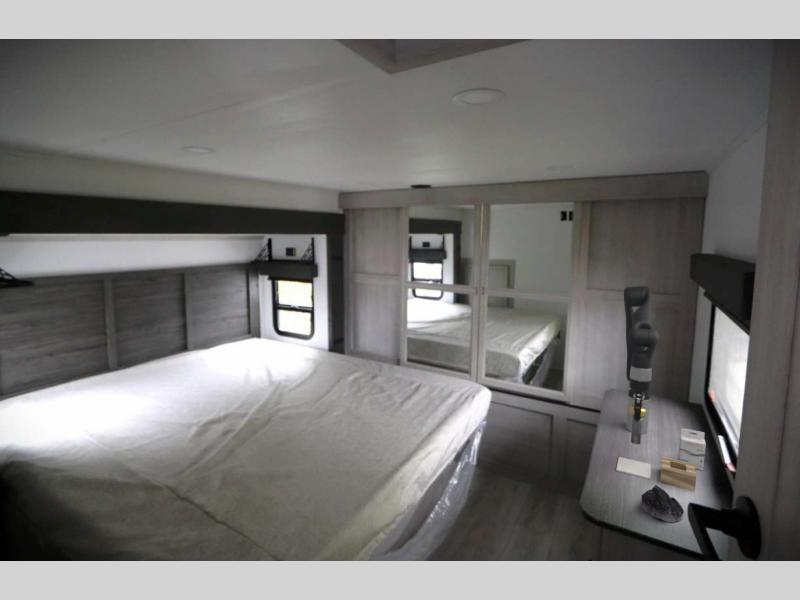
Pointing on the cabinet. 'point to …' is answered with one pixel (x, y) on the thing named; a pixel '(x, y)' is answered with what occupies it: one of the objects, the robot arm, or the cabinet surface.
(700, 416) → the cabinet surface
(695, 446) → the ink box
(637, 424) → the grey gold cylinder
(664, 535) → the cabinet surface
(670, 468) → the wooden block
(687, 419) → the cabinet surface
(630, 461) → the pad
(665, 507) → the crystal cluster
